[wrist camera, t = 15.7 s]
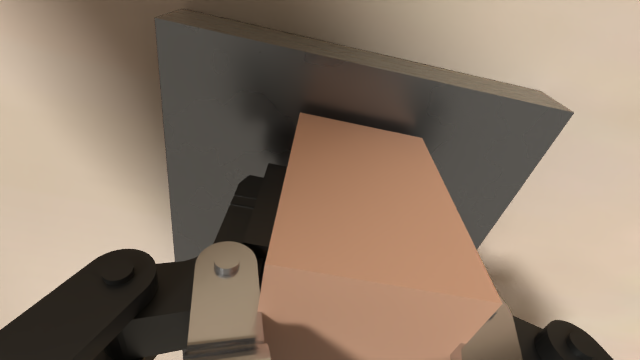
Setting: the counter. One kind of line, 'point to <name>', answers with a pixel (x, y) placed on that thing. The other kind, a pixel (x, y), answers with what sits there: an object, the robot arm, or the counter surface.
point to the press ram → (368, 252)
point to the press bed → (334, 103)
